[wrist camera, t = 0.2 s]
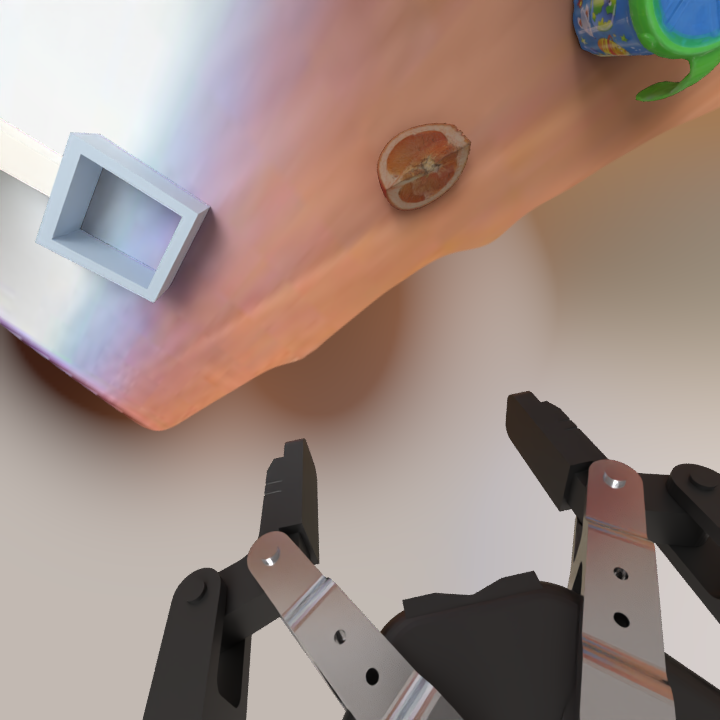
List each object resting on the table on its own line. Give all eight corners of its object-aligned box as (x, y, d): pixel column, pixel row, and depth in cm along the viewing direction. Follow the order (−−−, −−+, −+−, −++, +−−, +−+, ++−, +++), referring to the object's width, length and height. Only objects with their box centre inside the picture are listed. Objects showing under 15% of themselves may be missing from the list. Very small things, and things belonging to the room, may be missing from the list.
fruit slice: (442, 108, 33) (462, 103, 29) (462, 180, 36) (482, 185, 32) (362, 152, 34) (370, 153, 30) (388, 218, 38) (399, 228, 33)
